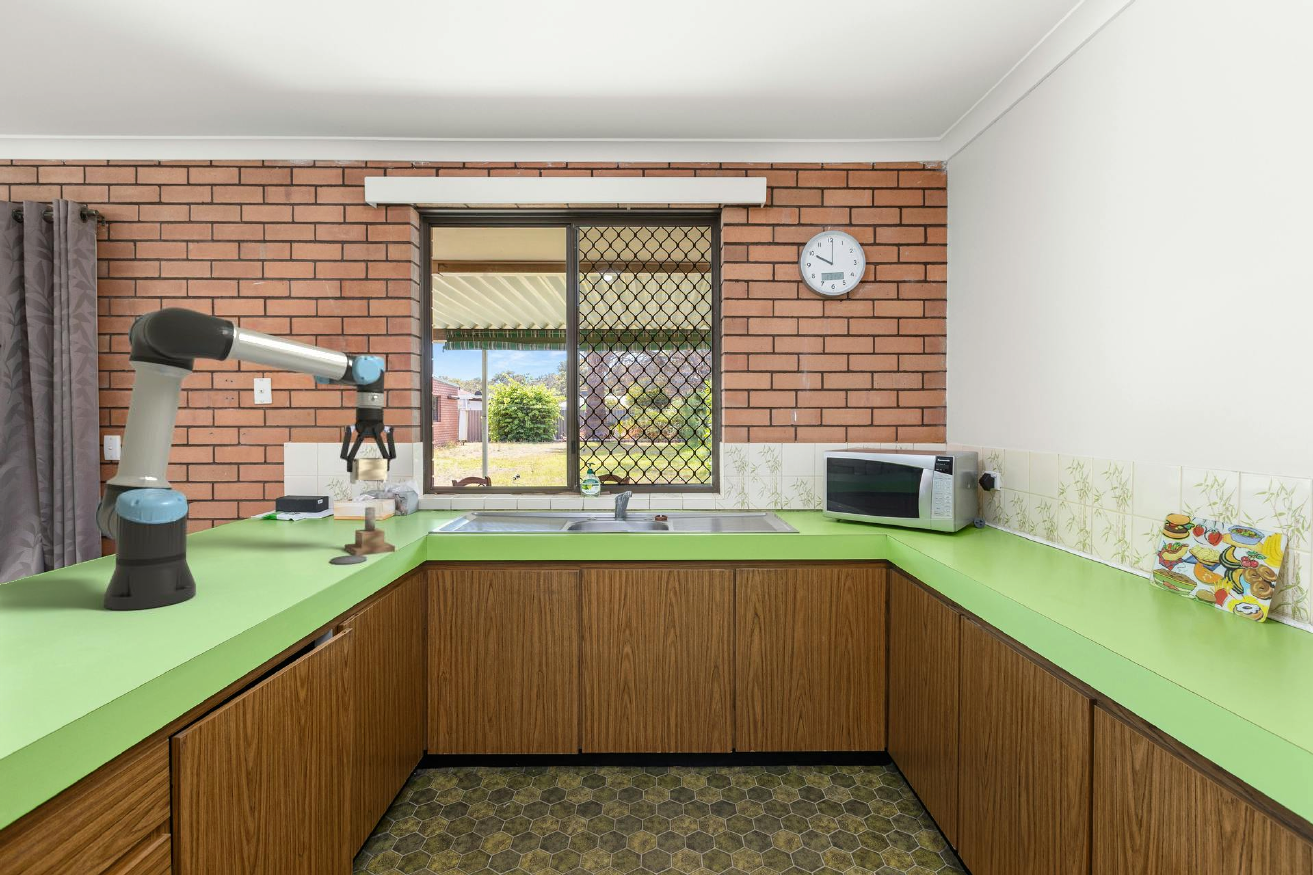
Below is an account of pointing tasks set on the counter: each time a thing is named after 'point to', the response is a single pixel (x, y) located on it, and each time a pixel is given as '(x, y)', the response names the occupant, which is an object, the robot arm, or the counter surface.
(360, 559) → the rubber coaster
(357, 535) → the post stand
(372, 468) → the birch collar
